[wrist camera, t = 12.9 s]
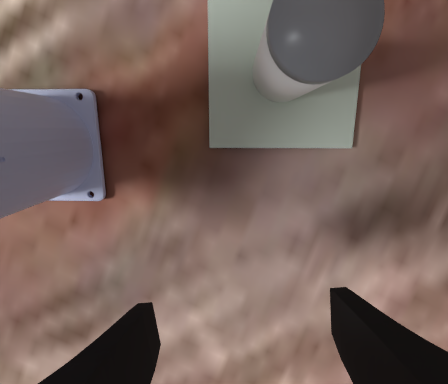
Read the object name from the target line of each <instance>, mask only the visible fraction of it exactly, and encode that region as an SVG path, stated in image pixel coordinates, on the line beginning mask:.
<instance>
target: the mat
mask: <svg viewBox="0 0 448 384" xmlns="http://www.w3.org/2000/svg"><path fill="white" fill-rule="evenodd" d="M272 2H273V0H208V63H209V146H210V148H352V144H353V135H354V126H355V116H356V107H357V98H358V89H359V80H360V70H361V65H360V66H358V67H357V68H356V69H355V70H353V71H351V72H350V73H348V74H346V75H344V76H342V77H340V78H338V79H336V80H334V81H332V82H329V83H327V84H325V85H323V86H321V87H319V88H317V89H315V90H313V91H311V92H309V93H306V94H304V95H302V96H300V97H298V98H296V99H294V100H292V101H289V102H283V103H279V102H273V101H270V100H268V99H266V98H265V97H264V96H262V95H261V94H260V93H259V91H258V90H257V88H256V86H255V84H254V81H253V76H252V68H253V63H254V59H255V56H256V53H257V50H258V47H259V43H260V40H261V37H262V34H263V31H264V27H265V24H266V21H267V18H268V15H269V12H270V8H271V5H272Z"/></svg>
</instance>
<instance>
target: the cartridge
mask: <svg viewBox="0 0 448 384" xmlns="http://www.w3.org/2000/svg"><path fill="white" fill-rule="evenodd" d="M384 13H385V12H384V0H273V2H272V5H271V8H270V12H269V15H268V18H267V21H266V24H265V27H264V31H263V34H262V37H261V40H260V43H259V47H258V50H257V53H256V56H255V59H254V63H253V68H252V76H253V81H254V84H255V86H256V88H257V90H258V91H259V93H260V94H261V95H262V96H264V97H265V98H266V99H268V100H270V101H273V102H279V103H283V102H289V101H292V100H294V99H296V98H298V97H300V96H302V95H304V94H306V93H309V92H311V91H313V90H315V89H317V88H319V87H321V86H323V85H325V84H327V83H329V82H332V81H334V80H336V79H338V78H340V77H342V76H344V75H346V74H348V73H350V72H351V71H353V70H355V69H356V68H357V67H358V66H360V65H361V64H362V63H363V62H364V61H365V60H366V59H367V57H368V56H369V55H370V54H371V52H372V51H373V49H374V47H375V46H376V44H377V42H378V39H379V37H380V34H381V31H382V27H383V22H384Z"/></svg>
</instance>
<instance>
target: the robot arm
mask: <svg viewBox="0 0 448 384" xmlns="http://www.w3.org/2000/svg"><path fill="white" fill-rule="evenodd" d="M79 94H82V95H83V99H82V100H80V99H79ZM90 191H92V192H93V193H94V197H93V196H91V195H90ZM105 196H106V189H105V180H104V170H103V161H102V151H101V141H100V132H99V122H98V112H97V103H96V96H95V93H94V92H93V91H91V90H89V89H3V88H0V218H3V217H5V216H8V215H11V214H13V213H16V212H19V211H21V210H24V209H26V208H29V207H32V206H34V205H37V204H40V203H42V202H45V201H47V200H52V201H101V200H103V199H104V198H105ZM330 303H331V332H332V335H333V338H334V341H335V344H336V347H337V349H338V352H339V355H340V357H341V360H342V362H343V364H344V366H345V368H346V370H347V372H348V374H349V376H350V378H351V380H352V382H353V384H448V352H447V351H445V350H443V349H441V348H440V347H438V346H436V345H434V344H432V343H430V342H429V341H427V340H425V339H423V338H422V337H420V336H418V335H417V334H415V333H414V332H412V331H410V330H409V329H407V328H405V327H404V326H402V325H401V324H399V323H397V322H396V321H394V320H393V319H391V318H390V317H388V316H387V315H385V314H384V313H382V312H381V311H380V310H378V309H377V308H375V307H374V306H372V305H371V304H369V303H368V302H367V301H365V300H364V299H362V298H361V297H360V296H358V295H357V294H355V293H354V292H353V291H351V290H350V289H348V288H347V287H340V288H330ZM160 345H161V343H160V338H159V334H158V329H157V324H156V319H155V314H154V309H153V304H152V302H150V303H138V304H137V305H135V306H134V307H133V308H132V309H130V310H129V311H128V312H127V313H126V314H125V315H124V316H122V317H121V318H120V319H119V320H118V321H117V322H116V323H115V324H113V325H112V326H111V327H110V328H109V329H108V330H107V331H105V332H104V333H103V334H102V335H101V336H100V337H99V338H97V339H96V340H95V341H94V342H93V343H91V344H90V345H89V346H88V347H86V348H85V349H84V350H83V351H81V352H80V353H79V354H78V355H77V356H75V357H74V358H73V359H72V360H70V361H69V362H68V363H66V364H65V365H64V366H62V367H61V368H60V369H58V370H57V371H55V372H54V373H52V374H51V375H50V376H48V377H47V378H45V379H44V380H43V381H41V382H40V383H38V384H150V383H151V380H152V377H153V374H154V371H155V367H156V363H157V359H158V355H159V350H160Z"/></svg>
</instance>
